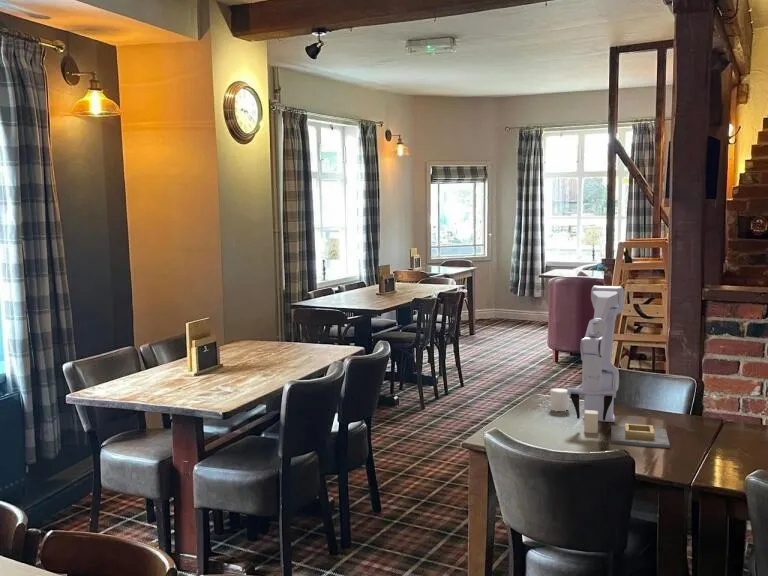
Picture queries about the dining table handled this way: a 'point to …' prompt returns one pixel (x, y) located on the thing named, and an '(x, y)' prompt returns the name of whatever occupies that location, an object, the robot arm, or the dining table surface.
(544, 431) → the dining table surface
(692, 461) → the dining table surface
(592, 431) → the cream block
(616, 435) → the socket plate
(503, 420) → the dining table surface
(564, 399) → the white cylinder
